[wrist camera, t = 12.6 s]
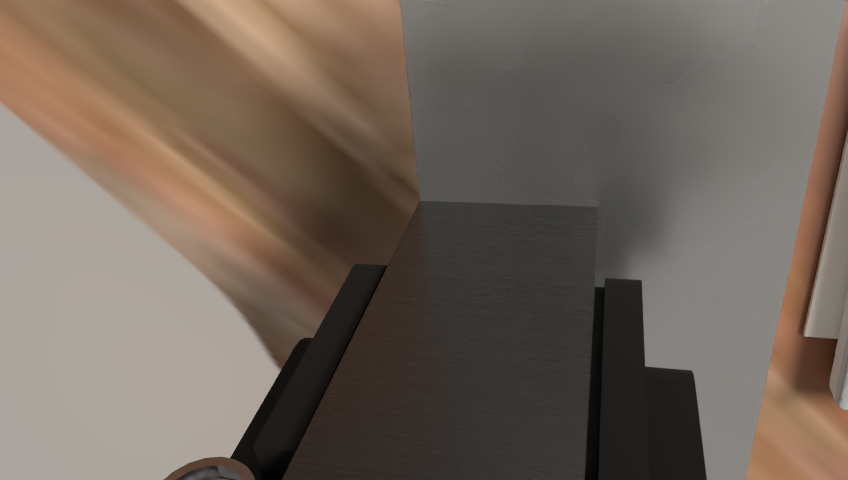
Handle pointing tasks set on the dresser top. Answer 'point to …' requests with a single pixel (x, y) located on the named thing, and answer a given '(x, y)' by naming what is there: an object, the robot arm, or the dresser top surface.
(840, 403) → the hard drive
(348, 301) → the robot arm
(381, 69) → the dresser top surface
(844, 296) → the board
